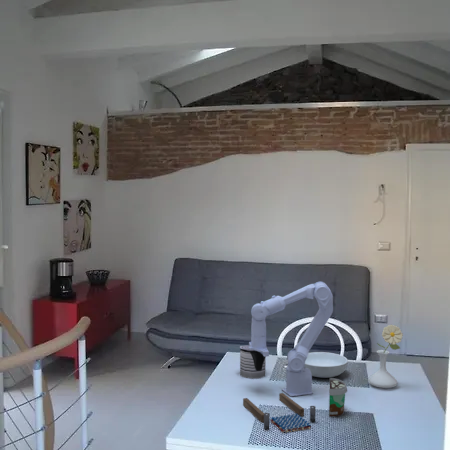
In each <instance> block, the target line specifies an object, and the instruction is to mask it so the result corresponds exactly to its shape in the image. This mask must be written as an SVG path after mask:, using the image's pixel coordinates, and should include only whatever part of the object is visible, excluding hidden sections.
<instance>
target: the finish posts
mask: <svg viewBox="0 0 450 450" xmlns="http://www.w3.org/2000/svg"><path fill="white" fill-rule="evenodd" d="M263 413H264V422H263V430H264V429H265V430H264V431H270V423H271V421H270V420H271V418H270V413H269V412H263ZM315 422H316V405H310V406H309V423H315Z"/></svg>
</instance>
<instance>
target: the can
mask: <svg viewBox="0 0 450 450" xmlns="http://www.w3.org/2000/svg"><path fill="white" fill-rule="evenodd" d="M248 347H249V344H248V345H240V346H239V348H240V349H239V352H240V354H239V356H240V357H239V360H240V361H239V376H240V377H242V378H245V379H251V380H257V379H263V378H265V377H266V367H267V366H266V360H267V359H266V358H265V360H264V363H263V366H262V370H258V371H257V370H255V366H254V361H253V358H252V356H251V354H250V351H253V350H250V349H249V348H248Z"/></svg>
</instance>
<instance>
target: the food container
mask: <svg viewBox="0 0 450 450" xmlns="http://www.w3.org/2000/svg"><path fill="white" fill-rule="evenodd" d="M328 390H329V394H328V395H329V399H328V401H329V403H328V409H329V410H328V417H330V418H331V417H340V416H342V415H343V414H344V412H345V401H346V399H345V398H346V393H347V392H348V387H347V384H346V382H345V381H343V380H341V379H339V378H334V377H329V389H328Z"/></svg>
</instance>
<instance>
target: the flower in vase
mask: <svg viewBox="0 0 450 450" xmlns="http://www.w3.org/2000/svg"><path fill="white" fill-rule="evenodd" d="M403 334H404V333H403V332H402V330H401V328H400V327H399V326H396V325H394V324H388V325H387V326H384V327H383V331H382V333H381V337H382V338H383V339H384V342H386V343H387V344H388V345H387V347H385V346H384V345H381V344H380V343H378V342H377V343H376V344H377V345H378V346H379V347H381V348H384V350H383V349H378V350H376V353H377V354H378V357H379V369H378V370H377V371H376V372H374V373H373V374H371V375H370V376H369V377H368V379H367V382H368V383H369V384H370V385H372V386H373V387H377V388H381V389H390V388H395V387H396V386H397V385H398V384H399V382H398V380H397V378H395V377H394V376H393V374H391V373H390V372H389V371H387V358H388V357H389V354H390V351H389V350H387V349H388V348H389V347H390V348H391V349H392V350H394V351H396V350H399V349H401V347H400V346H399V343H401V342H402V339H403V336H404V335H403Z"/></svg>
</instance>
